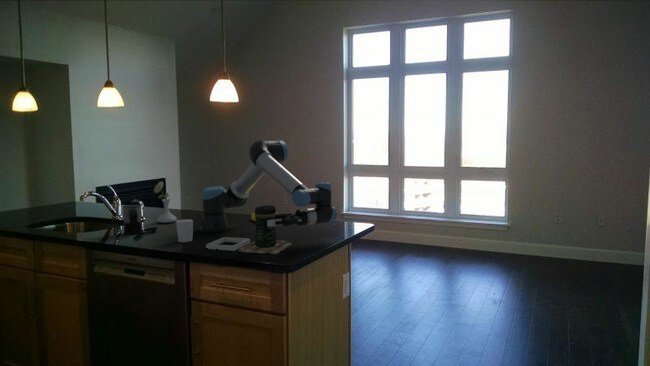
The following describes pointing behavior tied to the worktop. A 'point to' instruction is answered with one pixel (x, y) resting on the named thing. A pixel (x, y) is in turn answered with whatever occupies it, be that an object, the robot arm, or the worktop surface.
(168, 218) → the flower in vase
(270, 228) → the coffee jar
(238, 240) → the frame
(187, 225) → the white cup
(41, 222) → the worktop surface
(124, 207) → the milk frother
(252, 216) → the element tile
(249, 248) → the brown flat square slab
